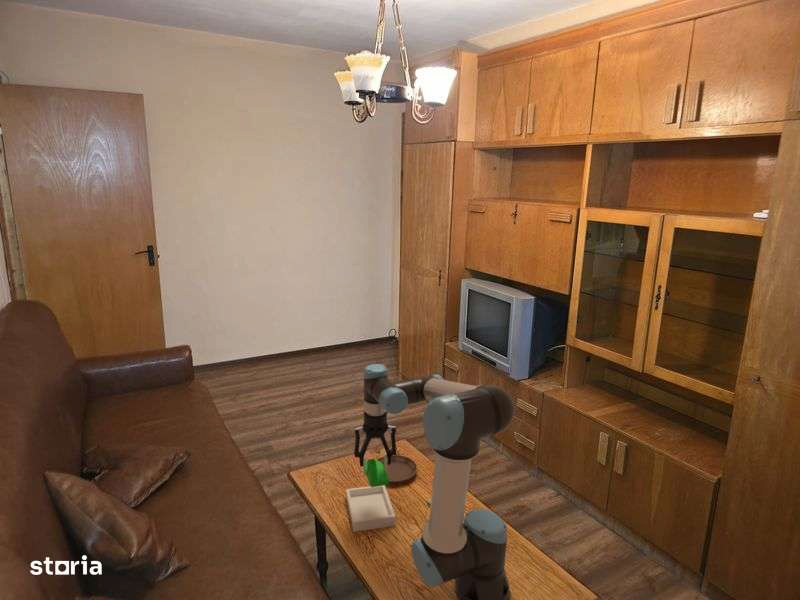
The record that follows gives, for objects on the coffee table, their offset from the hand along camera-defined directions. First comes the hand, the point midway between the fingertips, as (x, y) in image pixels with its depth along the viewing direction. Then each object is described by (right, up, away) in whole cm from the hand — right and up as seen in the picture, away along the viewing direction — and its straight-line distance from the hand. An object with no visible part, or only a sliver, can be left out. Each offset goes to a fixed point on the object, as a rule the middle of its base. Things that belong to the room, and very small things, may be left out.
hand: (375, 473), depth 173 cm
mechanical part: (0, -1, 0) cm, 1 cm away
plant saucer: (+6, -9, +26) cm, 29 cm away
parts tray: (-2, -15, +5) cm, 15 cm away
